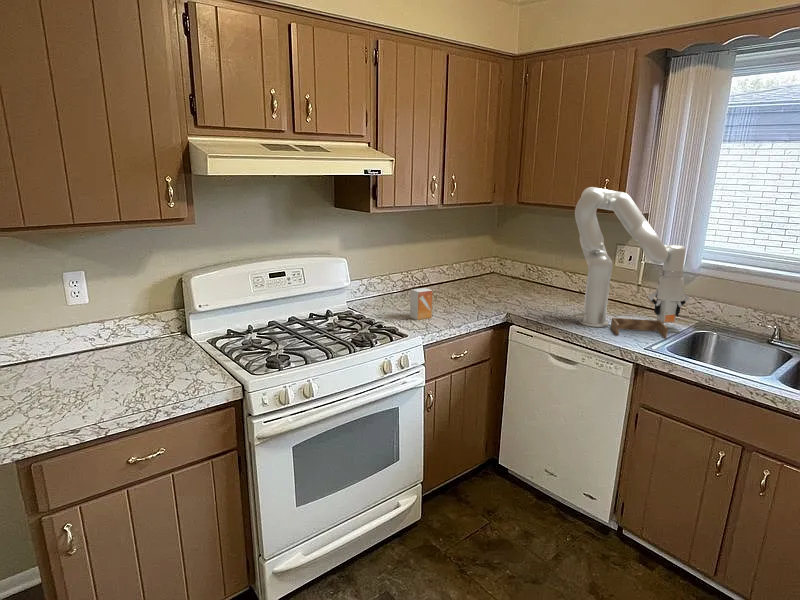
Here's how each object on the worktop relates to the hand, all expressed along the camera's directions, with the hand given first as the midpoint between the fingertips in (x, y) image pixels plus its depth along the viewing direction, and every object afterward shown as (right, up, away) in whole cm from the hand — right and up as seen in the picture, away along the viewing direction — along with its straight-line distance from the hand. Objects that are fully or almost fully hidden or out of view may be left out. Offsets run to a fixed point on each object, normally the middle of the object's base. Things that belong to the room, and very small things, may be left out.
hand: (666, 314), depth 225 cm
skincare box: (0, -3, +1) cm, 4 cm away
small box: (-106, -2, +13) cm, 107 cm away
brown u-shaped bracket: (-15, -8, -5) cm, 17 cm away
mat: (0, -6, +2) cm, 7 cm away
